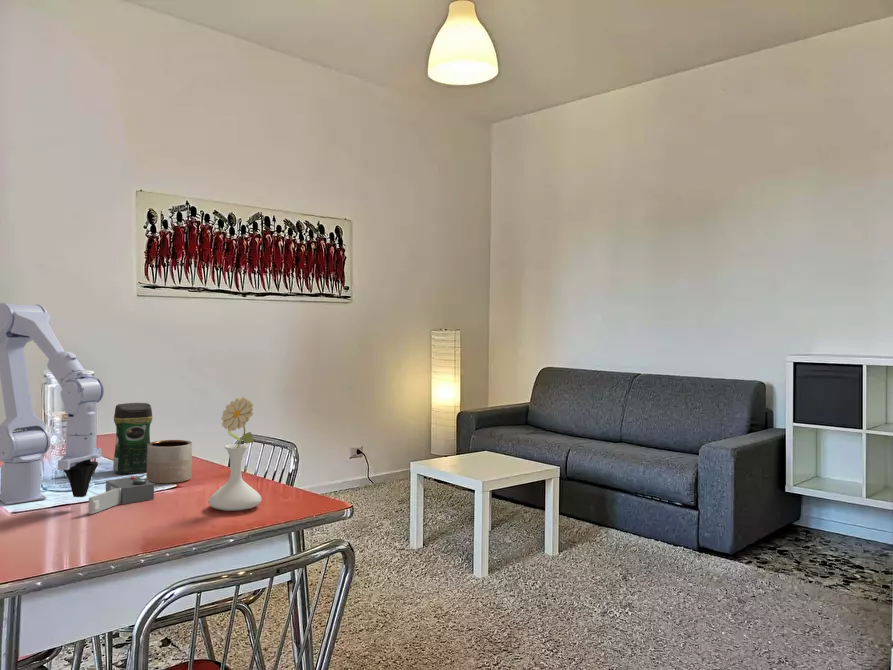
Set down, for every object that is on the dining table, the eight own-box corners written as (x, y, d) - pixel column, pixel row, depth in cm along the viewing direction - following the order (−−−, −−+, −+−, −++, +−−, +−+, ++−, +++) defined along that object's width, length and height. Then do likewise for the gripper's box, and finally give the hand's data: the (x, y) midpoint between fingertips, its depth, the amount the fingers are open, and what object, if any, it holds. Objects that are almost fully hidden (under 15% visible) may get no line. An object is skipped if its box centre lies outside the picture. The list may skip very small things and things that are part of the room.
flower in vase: (200, 506, 154) (202, 394, 153) (248, 499, 161) (251, 392, 161) (223, 519, 144) (225, 400, 143) (273, 511, 151) (276, 397, 151)
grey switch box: (105, 495, 161) (105, 477, 161) (136, 491, 166) (136, 473, 166) (122, 504, 154) (122, 485, 154) (153, 499, 159) (154, 480, 159)
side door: (93, 514, 145) (94, 498, 145) (88, 513, 145) (88, 497, 145) (123, 503, 154) (123, 487, 154) (117, 502, 154) (118, 487, 154)
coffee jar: (148, 467, 193) (150, 400, 193) (154, 472, 186) (155, 403, 186) (110, 470, 188) (112, 402, 188) (114, 475, 181) (116, 405, 181)
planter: (192, 483, 175) (193, 445, 175) (145, 486, 171) (146, 447, 171) (191, 474, 185) (191, 439, 185) (147, 476, 181) (147, 440, 181)
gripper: (83, 439, 141) (81, 505, 142) (115, 429, 156) (113, 488, 156) (48, 438, 141) (46, 504, 142) (84, 428, 156) (82, 487, 156)
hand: (79, 496), depth 149 cm, fingers closed
